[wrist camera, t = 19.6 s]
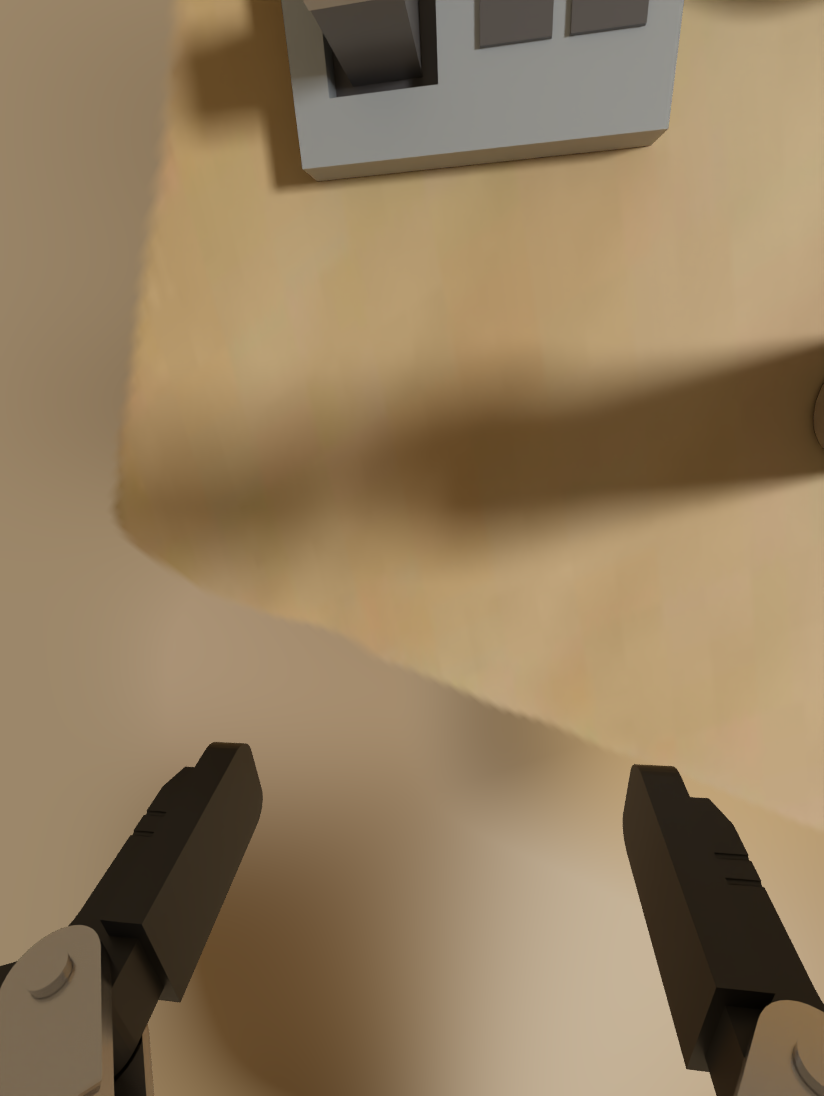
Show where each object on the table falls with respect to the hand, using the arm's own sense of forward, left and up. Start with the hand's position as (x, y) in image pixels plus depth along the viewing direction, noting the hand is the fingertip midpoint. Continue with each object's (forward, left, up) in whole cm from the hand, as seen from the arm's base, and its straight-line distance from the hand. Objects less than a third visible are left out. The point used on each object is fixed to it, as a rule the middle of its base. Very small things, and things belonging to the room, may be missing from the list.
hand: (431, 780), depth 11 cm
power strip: (-1, -23, -30) cm, 38 cm away
